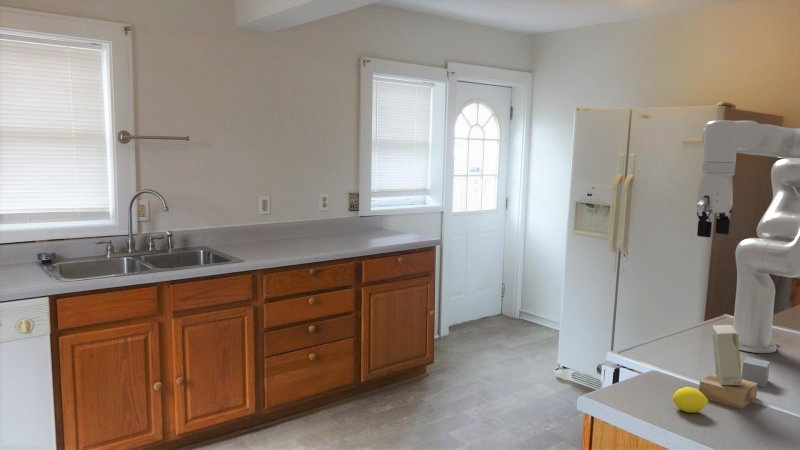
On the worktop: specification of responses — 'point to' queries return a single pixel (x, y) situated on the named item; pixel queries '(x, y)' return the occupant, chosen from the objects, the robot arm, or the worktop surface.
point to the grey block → (755, 371)
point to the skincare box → (727, 354)
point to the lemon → (689, 400)
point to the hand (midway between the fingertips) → (713, 235)
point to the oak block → (728, 391)
